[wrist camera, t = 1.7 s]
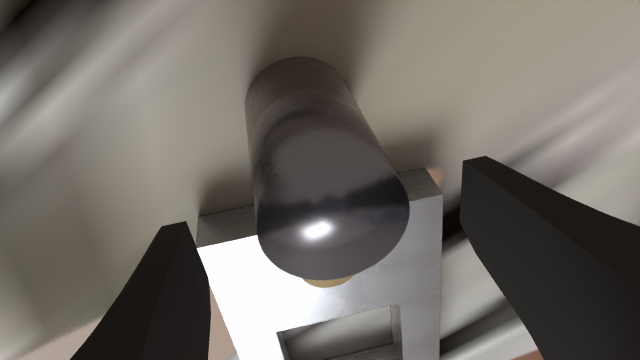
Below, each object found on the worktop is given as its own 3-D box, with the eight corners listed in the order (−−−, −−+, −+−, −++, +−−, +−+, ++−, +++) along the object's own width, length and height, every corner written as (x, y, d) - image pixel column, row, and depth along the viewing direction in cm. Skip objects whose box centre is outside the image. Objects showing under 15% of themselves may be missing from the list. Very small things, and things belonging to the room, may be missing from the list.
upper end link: (425, 167, 20) (448, 201, 18) (425, 355, 28) (441, 393, 26) (197, 216, 20) (195, 257, 18) (265, 394, 28) (268, 437, 26)
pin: (343, 47, 17) (407, 142, 11) (354, 142, 19) (411, 262, 13) (233, 68, 16) (239, 178, 11) (257, 162, 19) (273, 293, 13)
